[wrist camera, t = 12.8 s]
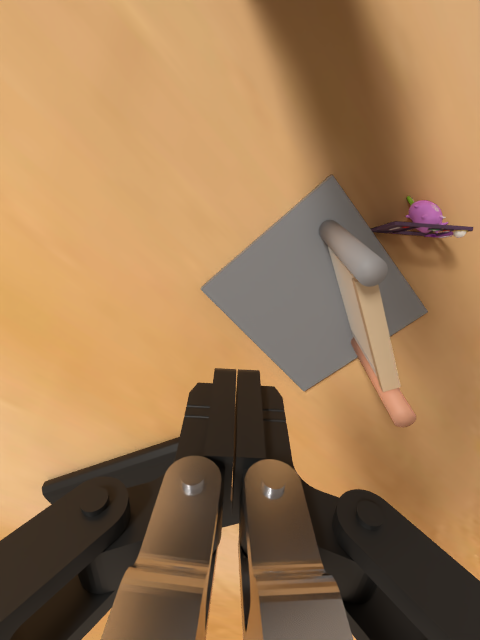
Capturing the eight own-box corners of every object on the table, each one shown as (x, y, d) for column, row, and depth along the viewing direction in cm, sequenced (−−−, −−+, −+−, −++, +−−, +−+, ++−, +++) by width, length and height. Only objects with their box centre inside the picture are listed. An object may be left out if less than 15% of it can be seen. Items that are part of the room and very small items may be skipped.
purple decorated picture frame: (393, 231, 37) (472, 237, 37) (399, 182, 36) (480, 188, 36) (368, 237, 44) (436, 242, 44) (373, 196, 43) (442, 201, 43)
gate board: (201, 286, 47) (181, 352, 32) (330, 174, 40) (383, 191, 25) (302, 387, 55) (325, 477, 40) (424, 308, 48) (506, 382, 33)
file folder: (109, 559, 74) (37, 493, 64) (115, 540, 77) (48, 474, 68) (245, 523, 67) (189, 444, 57) (245, 504, 71) (192, 426, 61)
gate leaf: (325, 246, 43) (355, 282, 32) (341, 241, 43) (376, 275, 31) (350, 335, 49) (383, 392, 38) (364, 331, 49) (401, 387, 37)
